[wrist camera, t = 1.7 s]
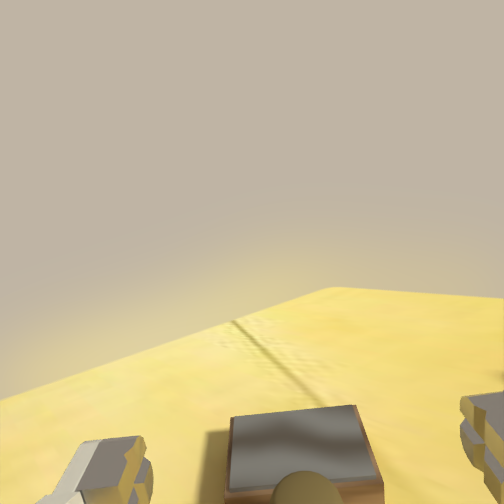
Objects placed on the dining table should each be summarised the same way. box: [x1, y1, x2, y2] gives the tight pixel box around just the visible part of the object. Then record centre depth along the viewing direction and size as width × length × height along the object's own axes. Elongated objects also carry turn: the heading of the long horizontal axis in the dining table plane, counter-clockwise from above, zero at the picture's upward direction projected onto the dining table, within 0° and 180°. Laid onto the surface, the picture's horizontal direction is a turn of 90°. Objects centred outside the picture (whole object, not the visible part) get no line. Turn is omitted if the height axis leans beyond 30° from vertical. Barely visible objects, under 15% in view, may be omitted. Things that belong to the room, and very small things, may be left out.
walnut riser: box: [224, 405, 385, 504], centre depth 40 cm, size 10×14×4 cm
